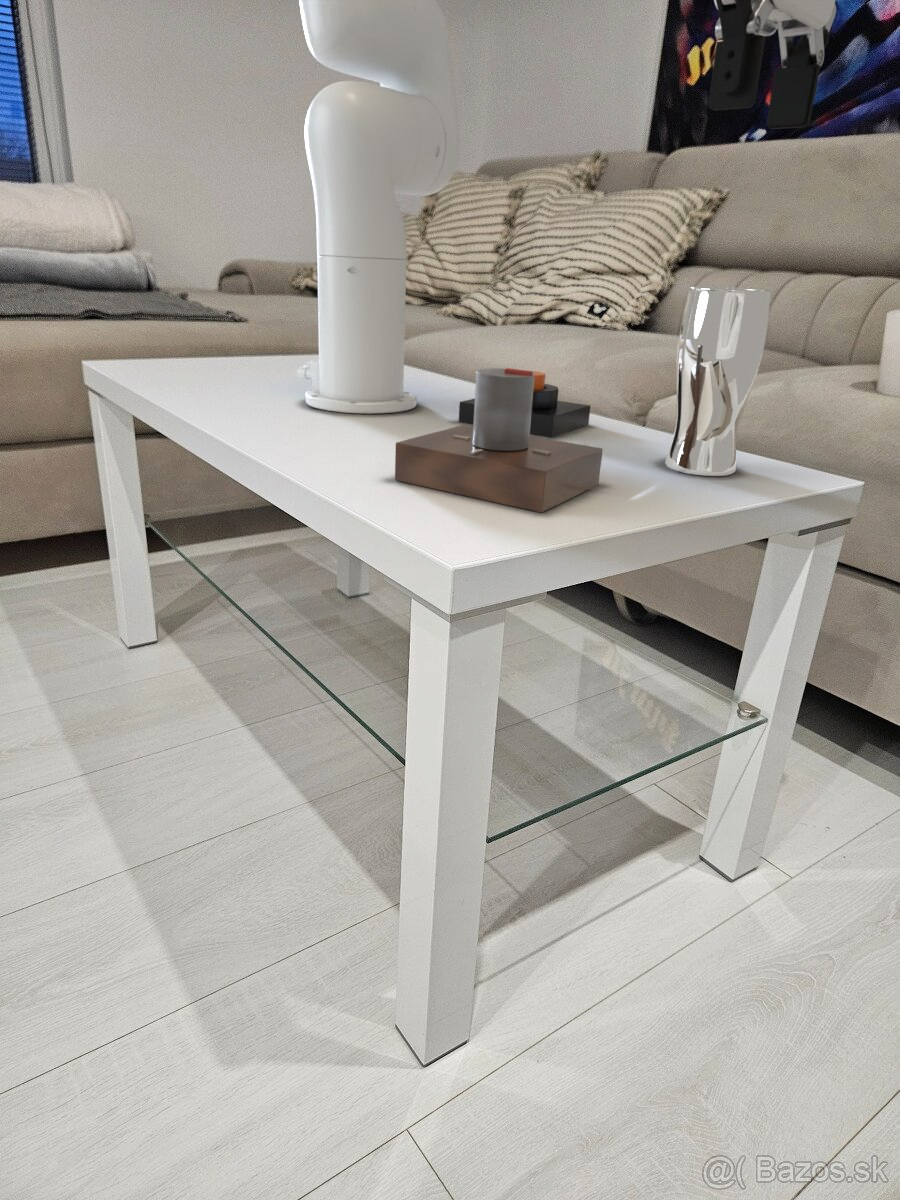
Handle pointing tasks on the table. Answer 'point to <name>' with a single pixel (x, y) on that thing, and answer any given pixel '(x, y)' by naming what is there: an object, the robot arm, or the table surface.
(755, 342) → the beer glass
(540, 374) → the button
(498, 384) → the knob
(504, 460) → the brown wooden base
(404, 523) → the table surface
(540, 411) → the button box
